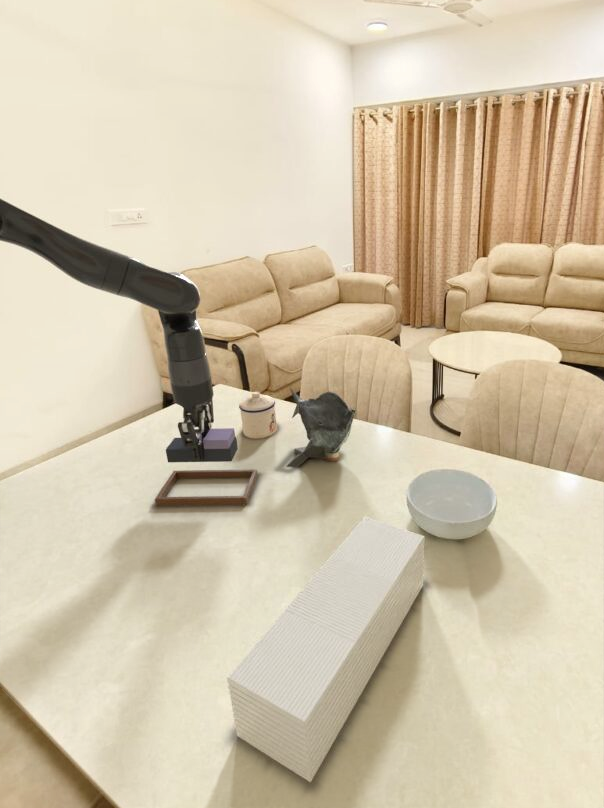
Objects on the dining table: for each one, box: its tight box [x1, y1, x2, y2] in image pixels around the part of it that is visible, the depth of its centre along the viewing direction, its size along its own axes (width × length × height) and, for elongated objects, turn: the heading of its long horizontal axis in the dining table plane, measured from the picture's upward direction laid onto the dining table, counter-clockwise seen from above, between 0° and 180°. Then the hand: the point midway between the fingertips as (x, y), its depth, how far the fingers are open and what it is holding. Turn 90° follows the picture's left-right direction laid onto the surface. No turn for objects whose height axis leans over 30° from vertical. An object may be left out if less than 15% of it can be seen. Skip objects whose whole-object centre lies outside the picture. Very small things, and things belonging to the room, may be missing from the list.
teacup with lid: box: [238, 391, 278, 439], centre depth 131 cm, size 12×9×12 cm
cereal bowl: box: [405, 468, 498, 540], centre depth 96 cm, size 17×17×7 cm
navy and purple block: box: [165, 427, 239, 463], centre depth 103 cm, size 5×13×5 cm, turn 90°
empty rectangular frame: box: [154, 469, 259, 507], centre depth 107 cm, size 19×11×2 cm, turn 90°
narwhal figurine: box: [285, 386, 357, 469], centre depth 115 cm, size 14×15×18 cm
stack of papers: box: [226, 516, 426, 783], centre depth 69 cm, size 32×11×11 cm, turn 152°
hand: (203, 452), depth 103 cm, fingers closed on navy and purple block, 5 cm apart
